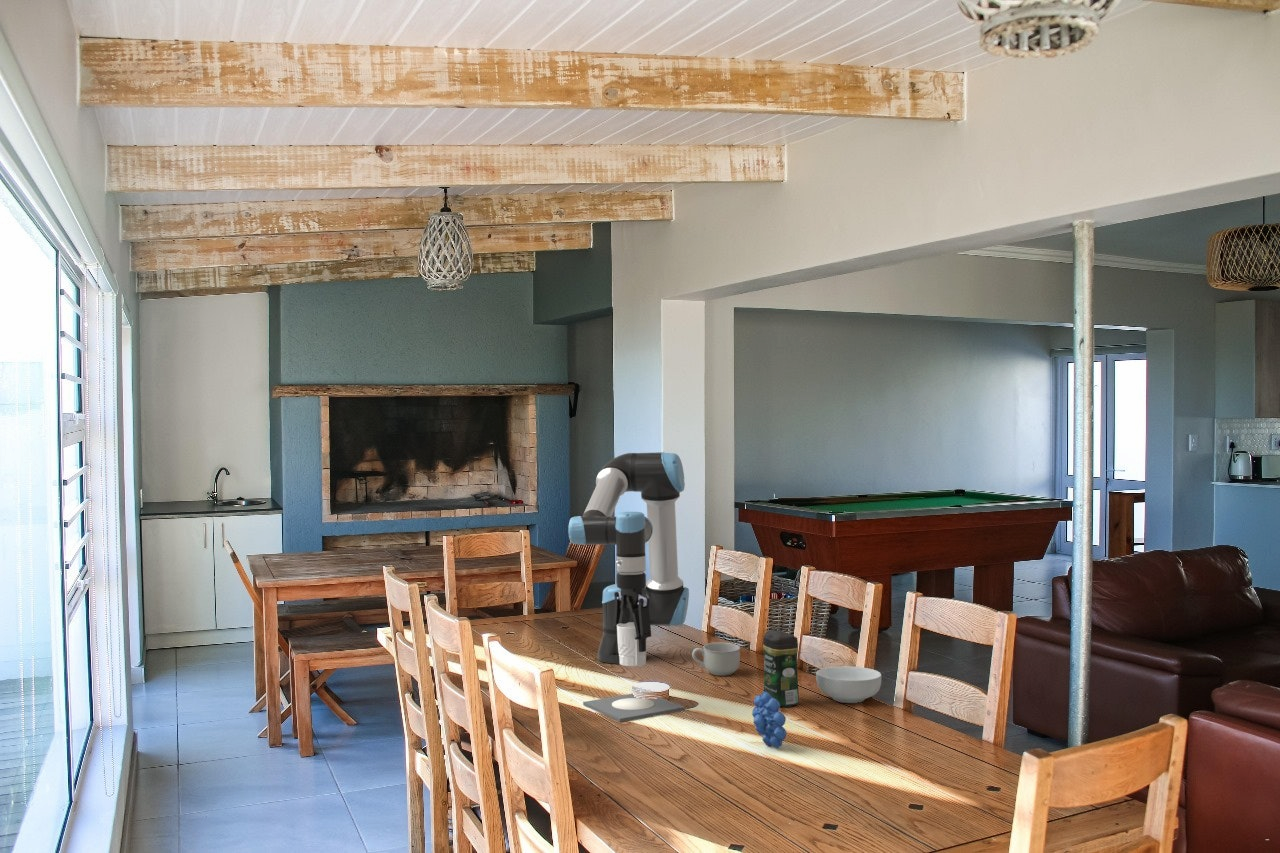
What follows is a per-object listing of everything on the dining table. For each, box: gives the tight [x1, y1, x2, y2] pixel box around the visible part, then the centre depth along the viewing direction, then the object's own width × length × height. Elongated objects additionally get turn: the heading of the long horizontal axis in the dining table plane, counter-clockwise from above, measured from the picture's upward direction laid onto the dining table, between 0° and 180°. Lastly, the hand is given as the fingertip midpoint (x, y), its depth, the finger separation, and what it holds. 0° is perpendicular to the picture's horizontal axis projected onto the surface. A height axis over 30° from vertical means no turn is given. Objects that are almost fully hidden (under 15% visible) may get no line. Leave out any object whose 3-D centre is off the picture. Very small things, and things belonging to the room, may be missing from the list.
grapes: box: [751, 691, 787, 749], centre depth 244 cm, size 12×7×12 cm, turn 28°
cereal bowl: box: [815, 665, 882, 704], centre depth 283 cm, size 17×17×7 cm
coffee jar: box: [762, 629, 800, 708], centre depth 280 cm, size 10×8×19 cm
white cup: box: [617, 622, 648, 667], centre depth 278 cm, size 8×8×10 cm
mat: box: [582, 693, 685, 723], centre depth 278 cm, size 19×19×1 cm
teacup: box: [691, 641, 741, 677], centre depth 314 cm, size 14×11×8 cm
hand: (632, 661), depth 278 cm, fingers closed on white cup, 7 cm apart
